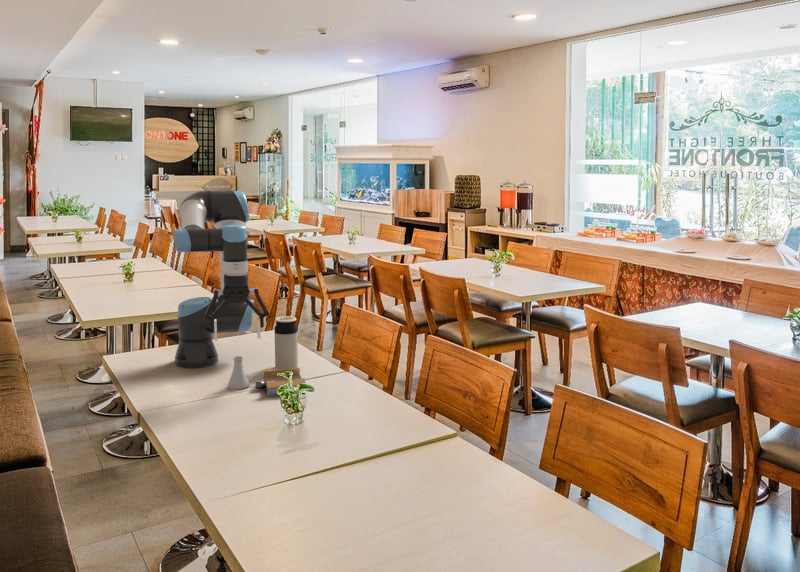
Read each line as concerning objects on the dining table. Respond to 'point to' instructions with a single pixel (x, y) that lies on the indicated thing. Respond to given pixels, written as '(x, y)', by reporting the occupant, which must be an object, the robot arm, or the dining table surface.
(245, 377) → the flask
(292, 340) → the travel mug
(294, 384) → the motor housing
